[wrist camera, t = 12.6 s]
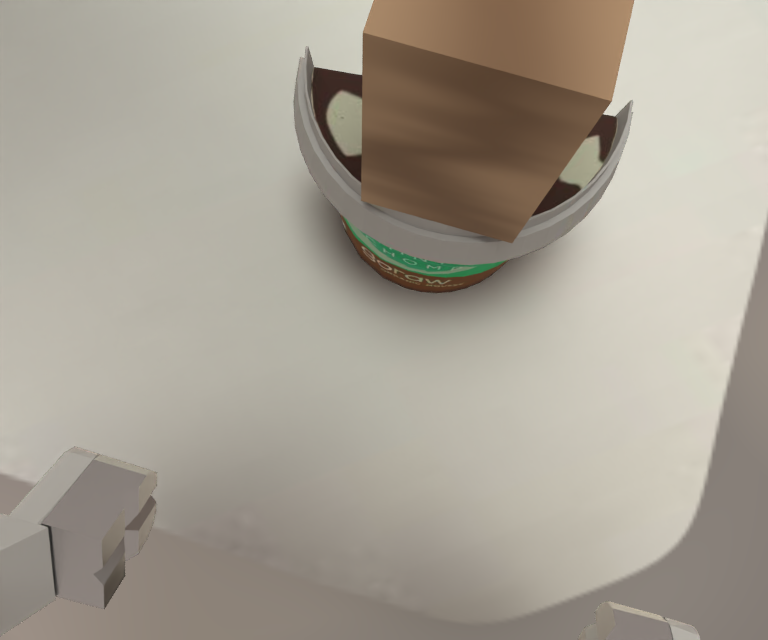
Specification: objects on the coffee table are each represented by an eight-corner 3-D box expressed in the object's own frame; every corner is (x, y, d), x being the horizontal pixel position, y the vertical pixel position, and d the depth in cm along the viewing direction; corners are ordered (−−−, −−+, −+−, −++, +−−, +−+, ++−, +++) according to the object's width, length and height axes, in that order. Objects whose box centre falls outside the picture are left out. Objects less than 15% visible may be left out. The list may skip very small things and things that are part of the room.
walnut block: (361, 200, 20) (362, 32, 12) (402, 69, 21) (429, -163, 13) (511, 243, 20) (611, 100, 12) (545, 108, 21) (656, -102, 13)
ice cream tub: (287, 294, 29) (252, 210, 20) (311, 176, 31) (290, 43, 21) (545, 336, 29) (637, 273, 20) (557, 216, 31) (648, 102, 21)
